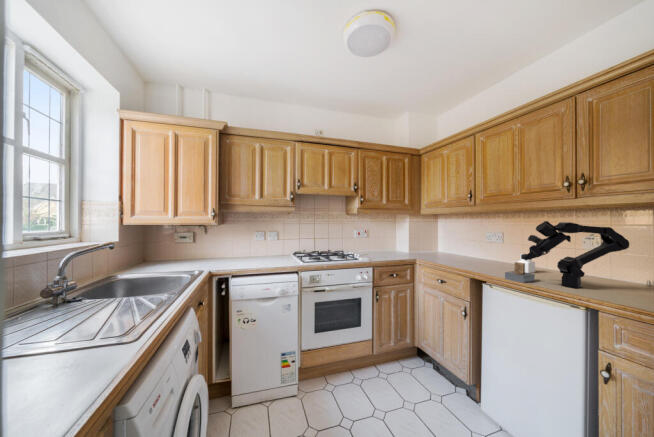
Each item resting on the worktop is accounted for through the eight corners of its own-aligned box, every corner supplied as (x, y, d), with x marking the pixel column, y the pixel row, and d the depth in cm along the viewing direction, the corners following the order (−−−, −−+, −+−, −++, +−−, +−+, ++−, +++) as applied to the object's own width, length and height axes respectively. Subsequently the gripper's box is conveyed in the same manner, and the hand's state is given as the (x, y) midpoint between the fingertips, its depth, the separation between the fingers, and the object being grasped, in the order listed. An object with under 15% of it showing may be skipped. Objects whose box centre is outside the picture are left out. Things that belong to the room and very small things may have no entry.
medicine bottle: (535, 272, 167) (535, 254, 167) (528, 273, 165) (528, 255, 165) (523, 270, 174) (523, 253, 174) (516, 271, 171) (516, 253, 171)
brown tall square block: (524, 280, 146) (524, 263, 146) (522, 281, 144) (522, 263, 144) (516, 278, 149) (516, 262, 149) (514, 279, 147) (514, 262, 147)
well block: (534, 281, 144) (534, 274, 144) (523, 282, 140) (523, 275, 140) (515, 277, 153) (515, 270, 153) (505, 278, 149) (505, 272, 149)
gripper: (542, 229, 146) (519, 246, 154) (534, 230, 134) (509, 249, 143) (561, 244, 139) (535, 261, 148) (554, 246, 128) (526, 265, 136)
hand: (526, 258), depth 144 cm, fingers open, 9 cm apart
